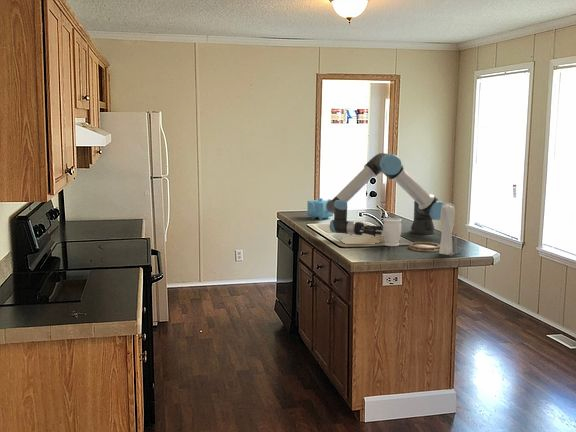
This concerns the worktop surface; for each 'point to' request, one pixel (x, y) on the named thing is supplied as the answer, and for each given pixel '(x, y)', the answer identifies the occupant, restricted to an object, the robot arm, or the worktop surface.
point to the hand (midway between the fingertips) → (391, 231)
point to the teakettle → (318, 209)
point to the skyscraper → (447, 230)
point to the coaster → (424, 246)
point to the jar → (392, 231)
